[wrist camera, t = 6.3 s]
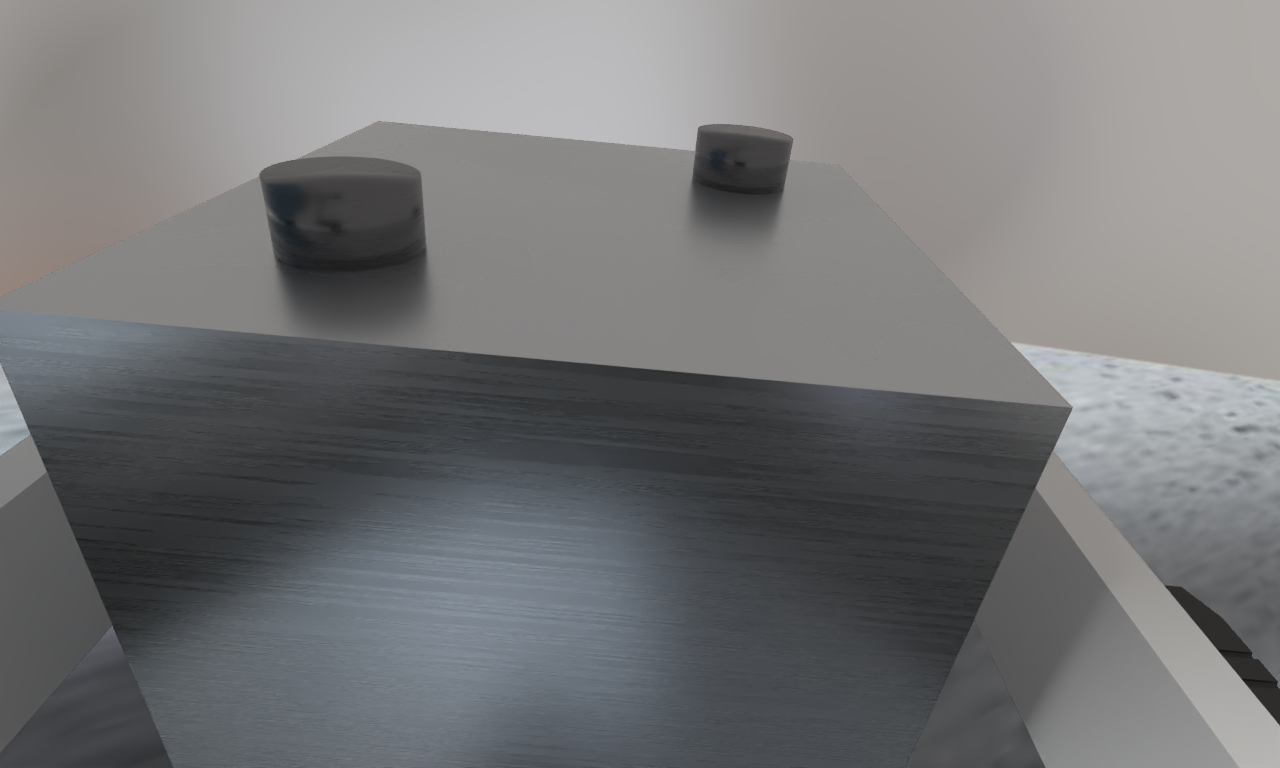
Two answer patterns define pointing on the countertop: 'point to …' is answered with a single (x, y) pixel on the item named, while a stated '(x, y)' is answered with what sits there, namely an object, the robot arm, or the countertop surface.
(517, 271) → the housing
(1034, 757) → the countertop surface
